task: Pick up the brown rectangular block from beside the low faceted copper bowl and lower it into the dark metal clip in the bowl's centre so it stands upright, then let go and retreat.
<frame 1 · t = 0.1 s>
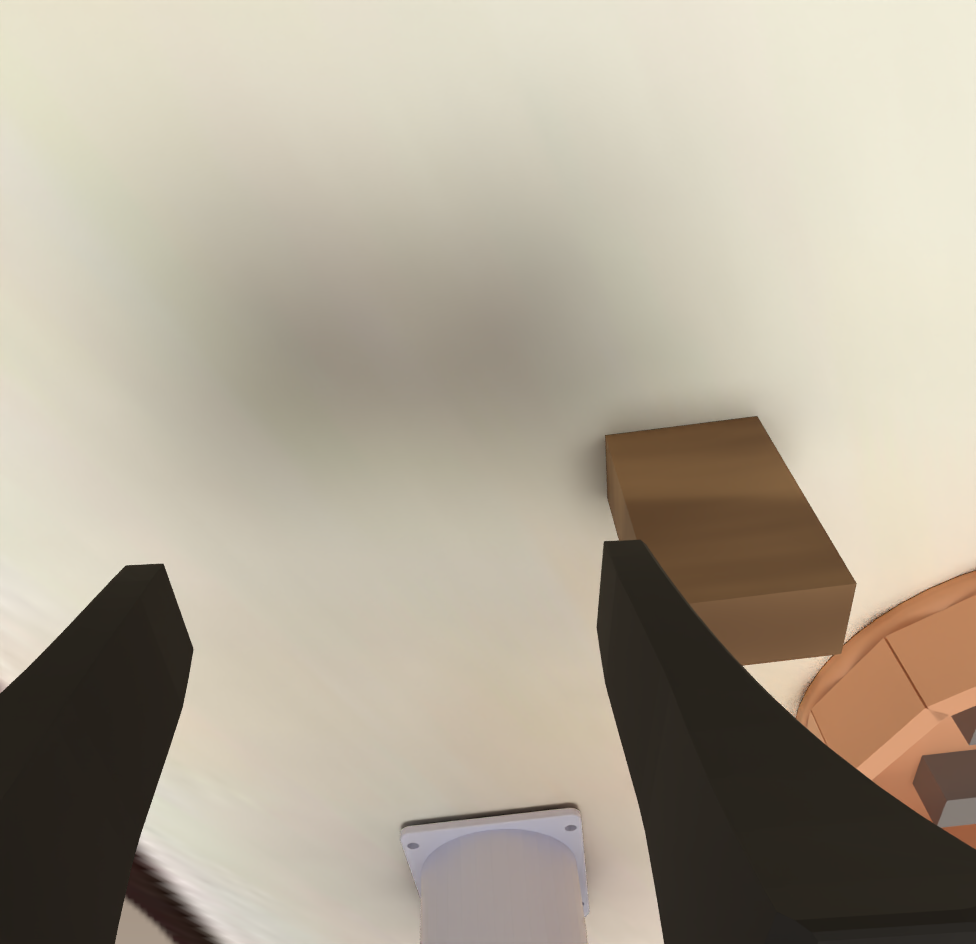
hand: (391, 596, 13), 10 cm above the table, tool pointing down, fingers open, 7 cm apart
brown rectangular block: (679, 458, 25), on the table
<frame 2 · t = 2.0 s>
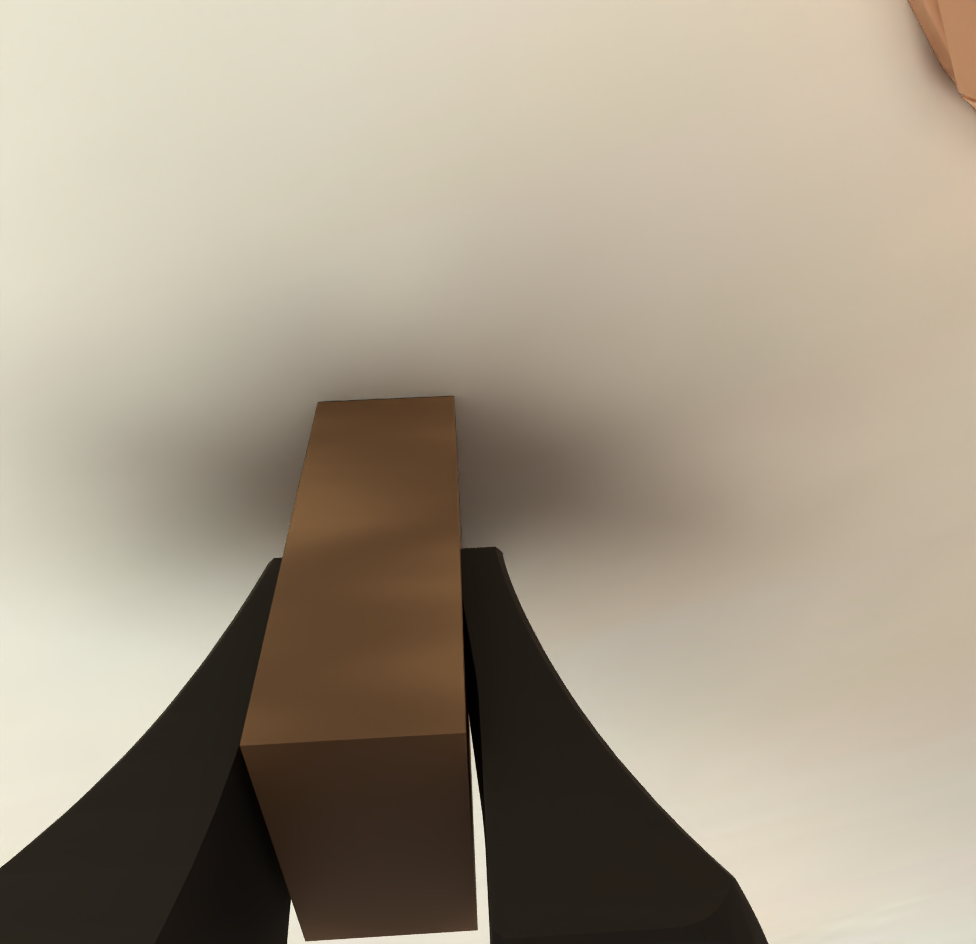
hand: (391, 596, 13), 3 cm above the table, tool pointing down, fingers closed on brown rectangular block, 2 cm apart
brown rectangular block: (397, 499, 16), on the table, touching gripper
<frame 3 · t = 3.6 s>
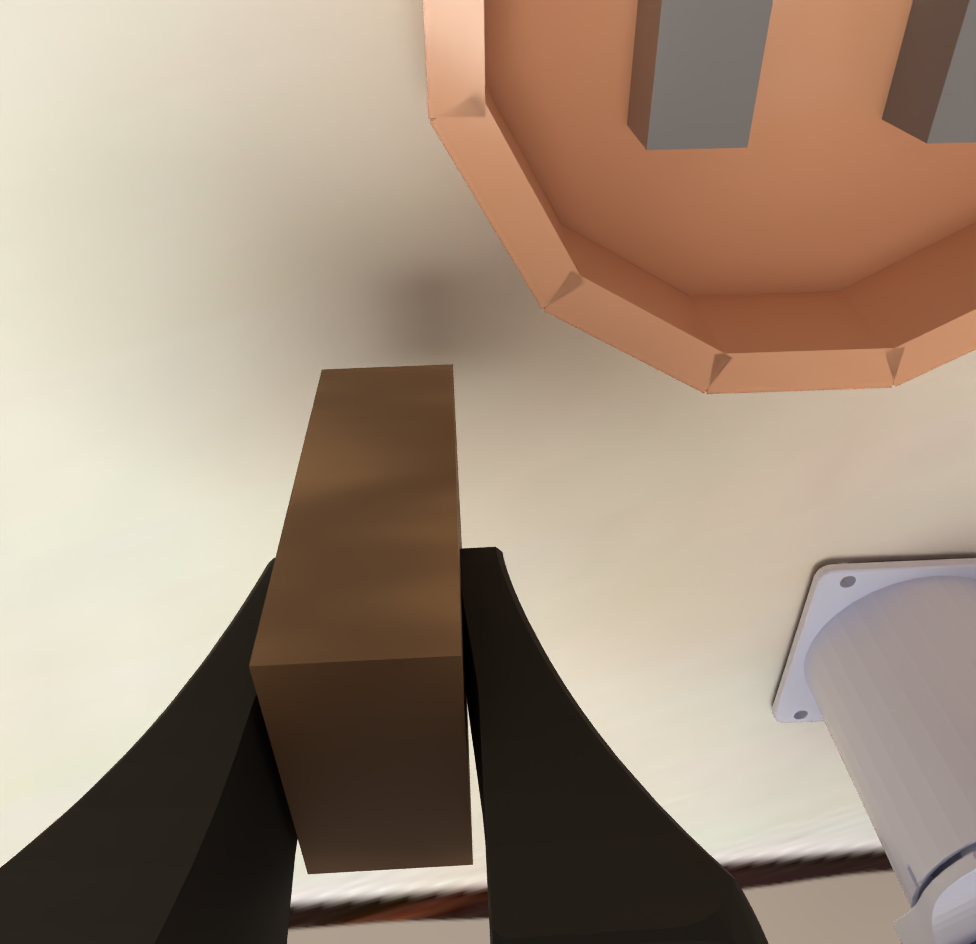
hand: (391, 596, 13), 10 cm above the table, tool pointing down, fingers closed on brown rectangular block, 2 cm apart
brown rectangular block: (397, 466, 16), point 6 cm above the table, touching gripper
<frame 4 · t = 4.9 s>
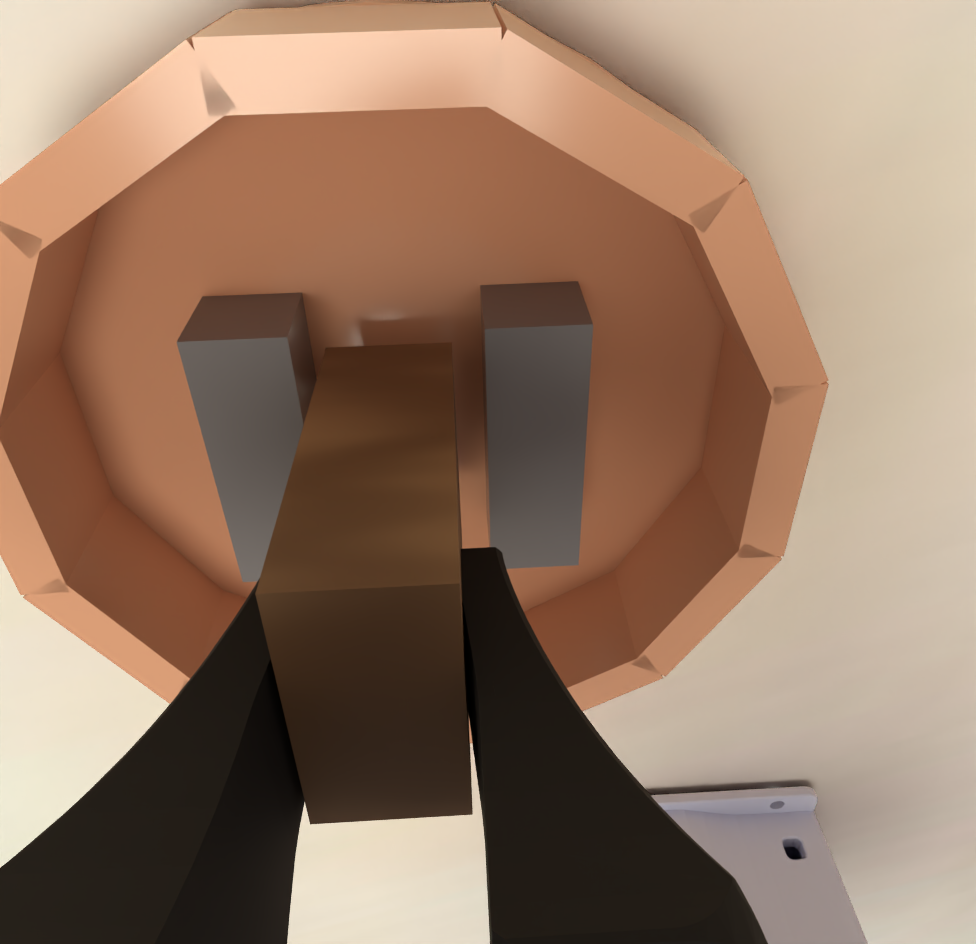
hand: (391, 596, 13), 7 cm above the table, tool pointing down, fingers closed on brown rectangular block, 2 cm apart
faceted copper bowl: (405, 391, 19), on the table
brown rectangular block: (398, 445, 17), point 3 cm above the table, touching gripper
when the fingers open (5 cm above the table, at t = 5.5 s): brown rectangular block stays where it is, resting on faceted copper bowl.
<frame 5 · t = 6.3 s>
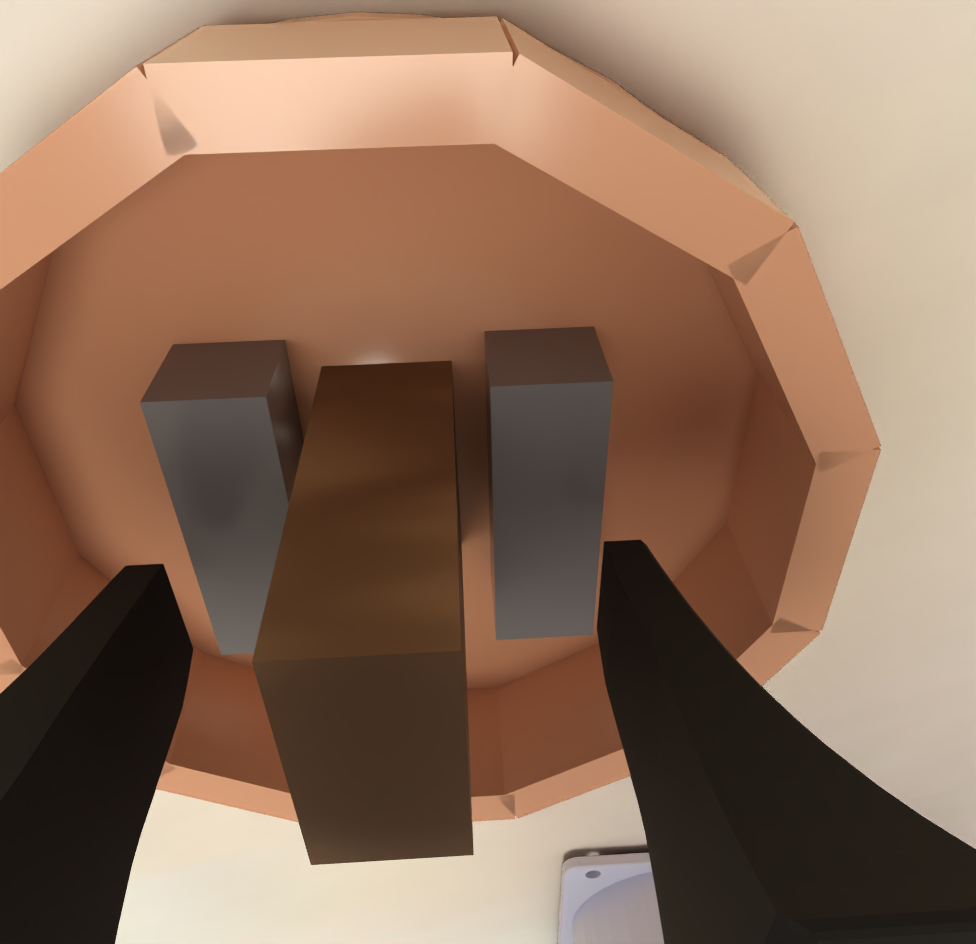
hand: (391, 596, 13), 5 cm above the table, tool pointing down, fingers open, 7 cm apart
faceted copper bowl: (401, 441, 17), on the table
brown rectangular block: (397, 462, 16), point 1 cm above the table, touching faceted copper bowl
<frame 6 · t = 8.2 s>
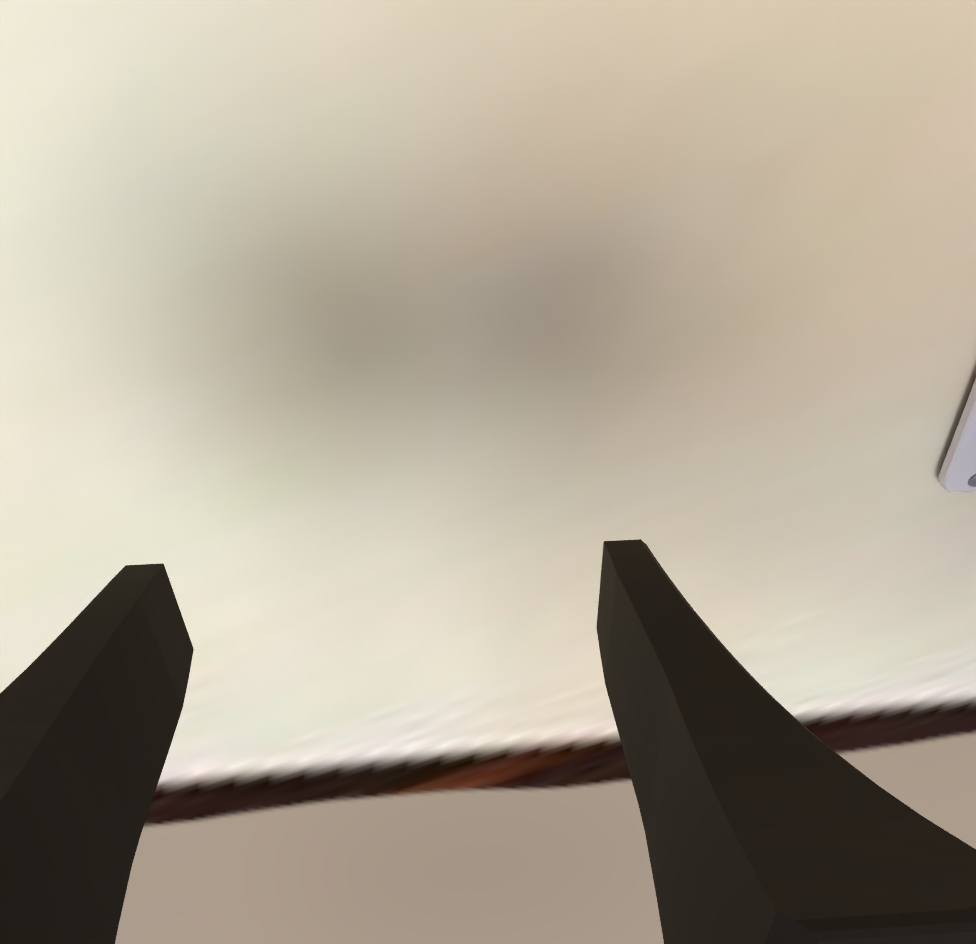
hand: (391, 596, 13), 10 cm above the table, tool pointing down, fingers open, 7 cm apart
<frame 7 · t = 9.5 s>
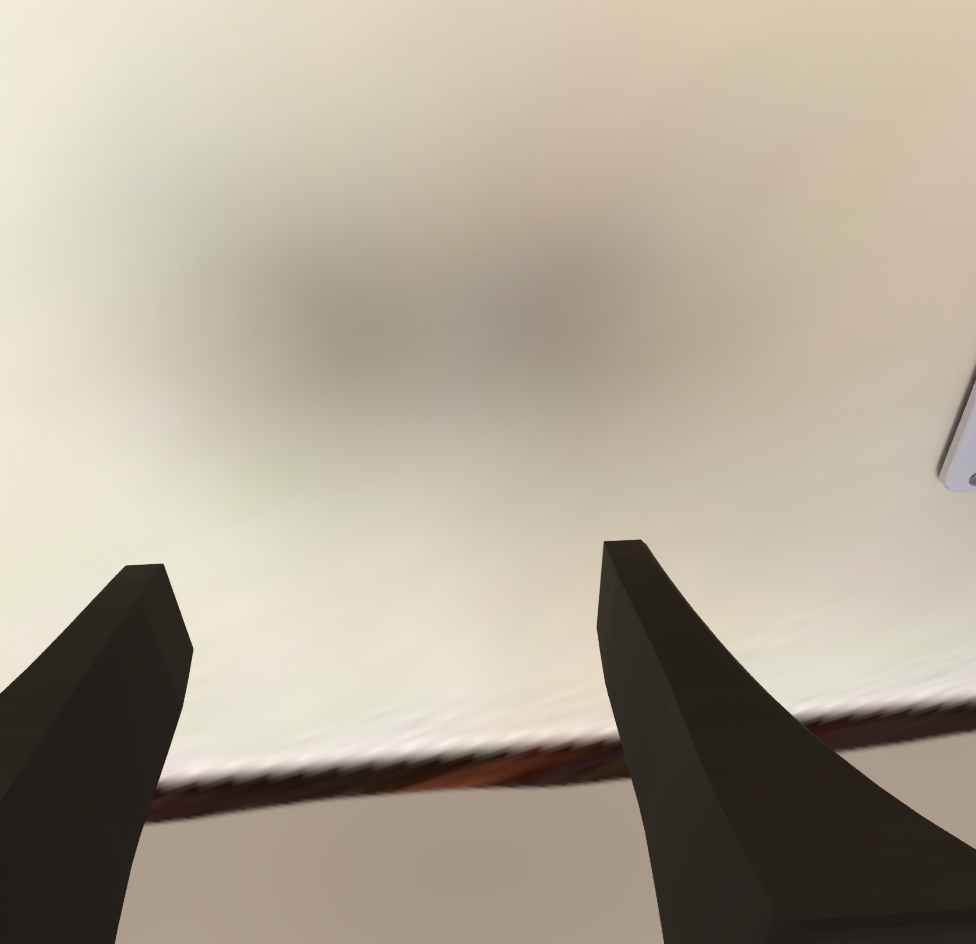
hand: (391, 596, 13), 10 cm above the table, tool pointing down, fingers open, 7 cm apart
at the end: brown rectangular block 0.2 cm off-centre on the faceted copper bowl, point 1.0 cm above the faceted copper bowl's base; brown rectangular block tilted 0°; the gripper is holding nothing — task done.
